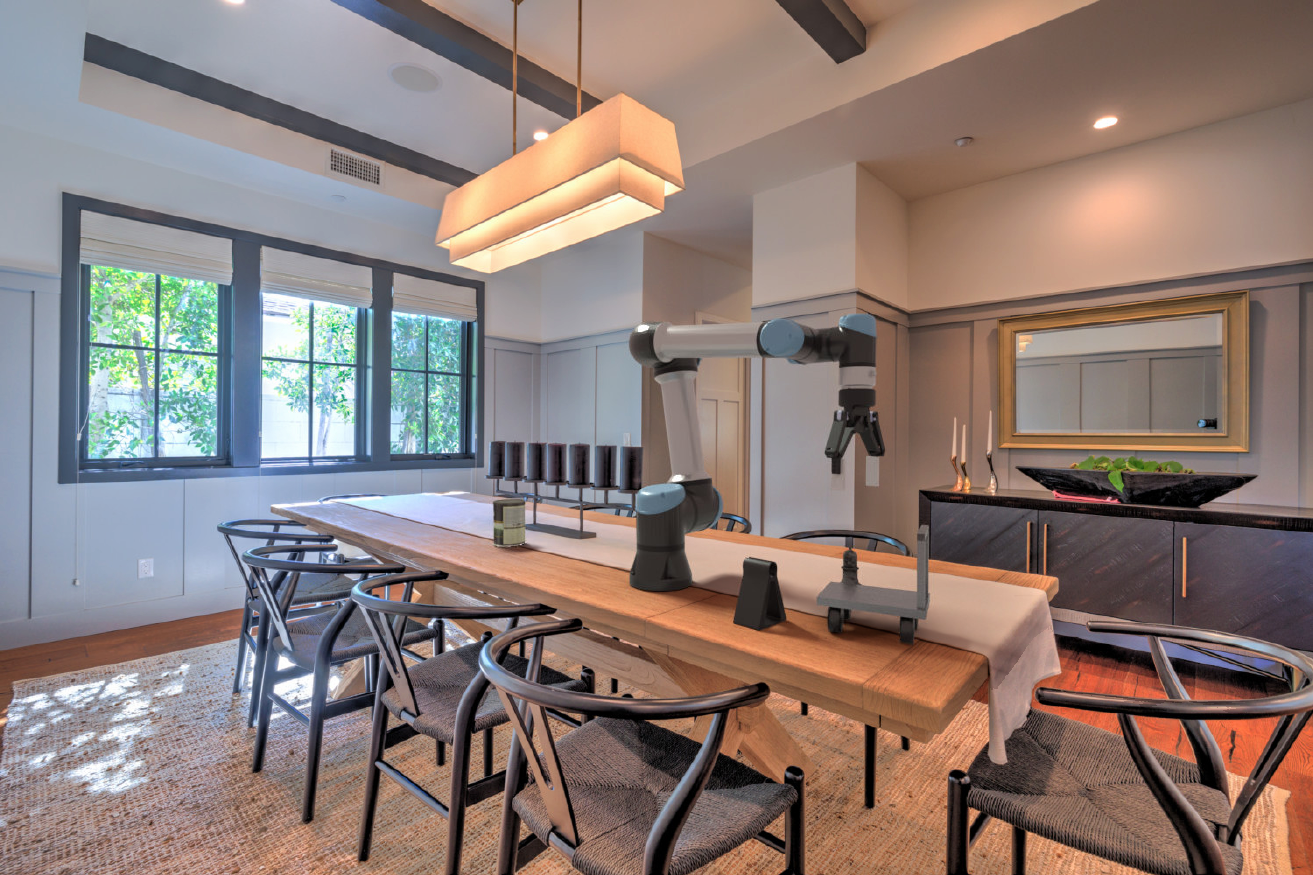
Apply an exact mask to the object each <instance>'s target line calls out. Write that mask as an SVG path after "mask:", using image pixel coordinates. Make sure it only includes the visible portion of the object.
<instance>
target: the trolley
mask: <svg viewBox="0 0 1313 875" xmlns="http://www.w3.org/2000/svg"><path fill="white" fill-rule="evenodd" d="M929 530H930V527H929V524H921V525H920V527H919V529H918V531H917V533H916V591H915V590H906V589H897V588H892V587H891V588H890V587H882V586H871V585H865V584H864V585H863V584H862V585H857V584H848V583H839V581H830V582H829V583H827V585H826V586H825V587H824V588H823V589H822V590H821V591H820V592H819V594H817V596H816V606H822V607H828V609H827V623H826V624H827V630H828V632H832V633H836V634H837V633H838V634H842V633H843V628H844V624H845V621H850V619H851V616H852V611H859V612H867V613H872V614H881V615H889V616H896V617H899V618H900V619H899V633H898V634H899V642H900V644H901V643H902V644H907V645H908V644H909V645H914V643H915V634H916V633H915V632H916V631H918V629H919V628H918V627H919V626H918V625H919V620H924V621H926V620H927V616H928V612H929V607H930V603H931V594H930V593H931V592H929V587H930V586H929V573H930V572H929V567H930V564H929V563H930V562H929V561H930V560H929V555H930V554H929V552H930V551H929V550H930V549H929V546H930V544H929V541H930V538H929V536H930V534H929V532H930V531H929Z"/></svg>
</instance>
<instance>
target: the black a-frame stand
mask: <svg viewBox="0 0 1313 875" xmlns="http://www.w3.org/2000/svg"><path fill="white" fill-rule="evenodd" d="M778 579H779V578H778V564H777V562H776V561H772V560H766V559H761V558H759V557H758V558H757V557H752V556H748V557H745V558H744V559H743V562H742V579H741V582H740V587H739V592H738V596H737V601H736V605H735V610H734V615H733V620H732V623H733V624H735V625H740V626H742V627H746V628H749V629H752V630H755V631H763V630H764V629H765V630H766V629H767V628H770V627H772V626H776V625H778V624H780V623H782V622H785V621H787V618H788V617H787V613H786V608H785V605H784V600H783V595H782V591H781V588H780V583H779V580H778Z"/></svg>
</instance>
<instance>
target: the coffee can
mask: <svg viewBox="0 0 1313 875" xmlns="http://www.w3.org/2000/svg"><path fill="white" fill-rule="evenodd" d="M492 507H493V508H492V509H493V511H492V512H493V513H492V516H493V517H492V519H493V523H492V524H493V525H492V526H493V543H492V544H493V546H494V547H496V546H497V548H512V547H511V546H517V545H520V544H523V543H525V542H526V500H525V499H519V498H509V499H508V498H506V499H497V500H494V501H492ZM525 544H526V543H525ZM517 547H518V546H517Z"/></svg>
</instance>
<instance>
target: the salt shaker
mask: <svg viewBox="0 0 1313 875" xmlns="http://www.w3.org/2000/svg"><path fill="white" fill-rule="evenodd" d="M841 570H842V578H841V581H840V582H839V581H838V582H839V583H848V584H857V585H863V584H861V583H860V582H859V579H858V570H860V568H859V567H858V554H857V552H856V551H855V550H852V546H849V547H848V549H847V550H845V551H844V552H843V554H842V566H841Z"/></svg>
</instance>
